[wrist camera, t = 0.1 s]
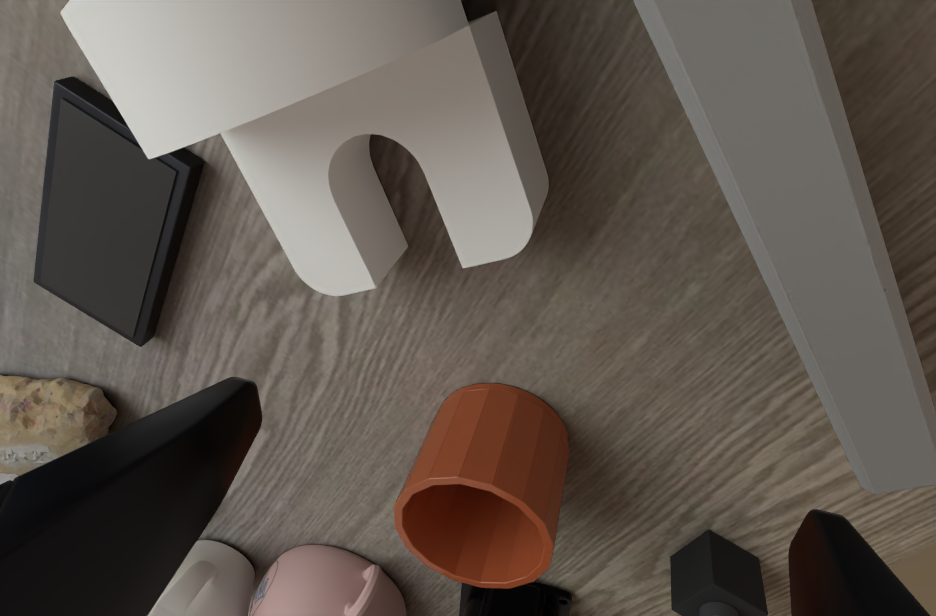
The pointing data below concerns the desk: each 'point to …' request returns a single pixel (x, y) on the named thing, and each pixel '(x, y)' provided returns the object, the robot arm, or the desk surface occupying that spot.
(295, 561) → the mug
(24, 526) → the robot arm
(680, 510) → the desk surface
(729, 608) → the plain white cylinder
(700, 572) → the plain black cube
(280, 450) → the desk surface
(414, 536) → the pen cup
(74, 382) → the stone
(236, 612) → the mug
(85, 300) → the tablet
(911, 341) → the grey aluminium rail
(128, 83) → the u-slot mount
